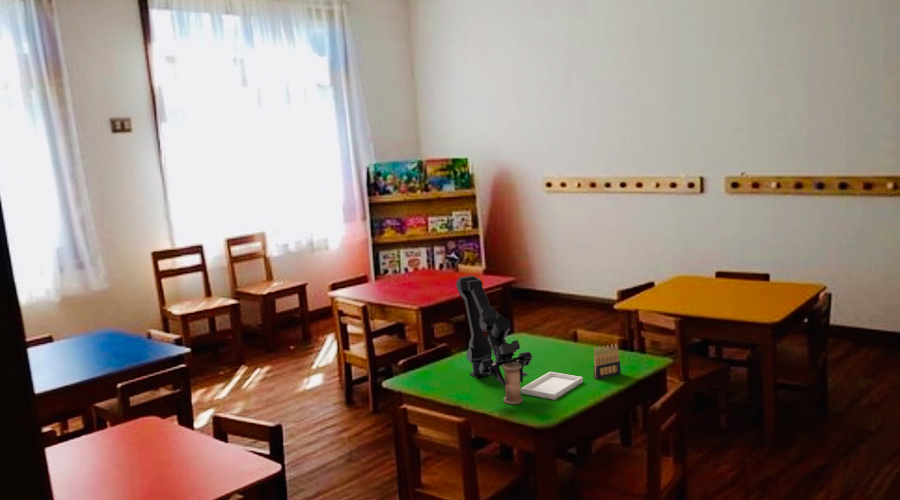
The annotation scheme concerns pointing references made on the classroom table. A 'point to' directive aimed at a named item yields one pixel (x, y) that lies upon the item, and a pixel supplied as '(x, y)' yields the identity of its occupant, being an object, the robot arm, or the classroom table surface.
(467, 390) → the classroom table surface
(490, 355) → the robot arm
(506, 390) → the brown wooden spool
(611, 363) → the ammunition clip
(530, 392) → the white rectangular tray
